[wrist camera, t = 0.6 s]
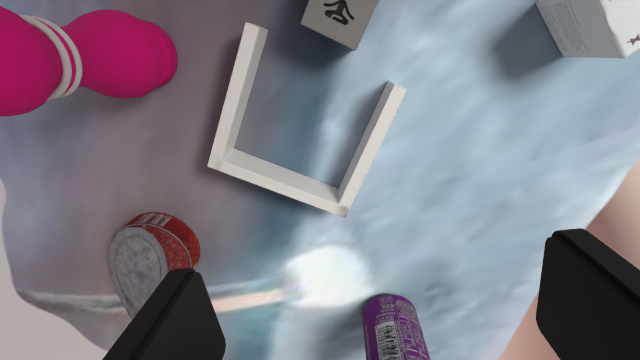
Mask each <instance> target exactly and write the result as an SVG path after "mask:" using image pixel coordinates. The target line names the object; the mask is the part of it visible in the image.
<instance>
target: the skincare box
mask: <svg viewBox="0 0 640 360" xmlns="http://www.w3.org/2000/svg"><path fill="white" fill-rule="evenodd" d="M536 5H537V7H538V9H539V11H540V13H541V15H542V17H543V19H544V21H545V23H546V25H547V27H548V29H549V31H550V33H551V35H552V36H553V38H554V40H555V42H556V44H557V46H558V48H559V50H560V52H561V53H562V55H563V56H564V57H601V58H626V57H628V56H629V55H631V54H632V53H634V52H635V51H637V50H638V49H640V0H539V1H537V2H536Z"/></svg>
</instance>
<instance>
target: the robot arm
mask: <svg viewBox="0 0 640 360" xmlns="http://www.w3.org/2000/svg"><path fill="white" fill-rule="evenodd" d="M536 321H537V325H538V327H539V329H540V331H541V333H542V334H543V335H544V337H545V338H546V340H547V341H548V343H549V344H550V345H551V347H552V348H553V350H554V351H555V353H556V354H557V355H558V357H559V358H560V360H640V270H639V269H637V268H636V267H634V266H633V265H632V264H631V263H629V262H628V261H627V260H625V259H624V258H622V257H621V256H620V255H619V254H617V253H616V252H615V251H613V250H612V249H610V248H609V247H608V246H606V245H605V244H604V243H602V242H601V241H600V240H598V239H597V238H596V237H594V236H593V235H592V234H590V233H589V232H588V231H586V230H584V229H580V228H579V229H569V230H560V231H555V232H554V233H553V234H552V237H549V238H547V240H546V243H545V250H544V258H543V266H542V273H541V281H540V289H539V296H538V305H537V312H536ZM225 347H226V343H225V338H224V335H223V333H222V330H221V327H220V325H219V322H218V319H217V317H216V314H215V311H214V308H213V306H212V303H211V300H210V298H209V295H208V292H207V290H206V287H205V284H204V282H203V279H202V276H201V274H200V273H198V272H195V270H194V269H193V268H182V269H173V270H170V271H169V272H168V273H167V274H166V276H165V277H164V278H163V280H162V281H161V282H160V284H159V285H158V286H157V288H156V289H155V290H154V292H153V293H152V294H151V296H150V297H149V298H148V300H147V301H146V302H145V304H144V305H143V306H142V308H141V309H140V310H139V312H138V313H137V314H136V316H135V317H134V318H133V320H132V321H131V322H130V324H129V325H128V326H127V328H126V329H125V330H124V332H123V333H122V334H121V336H120V337H119V338H118V340H117V341H116V342H115V344H114V345H113V346H112V348H111V349H110V350H109V352H108V353H107V354H106V356H105V357H104V358H103V360H222V358H223V356H224V353H225Z"/></svg>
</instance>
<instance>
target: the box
mask: <svg viewBox="0 0 640 360" xmlns="http://www.w3.org/2000/svg"><path fill="white" fill-rule="evenodd" d="M268 31H269V30H267V29H265V28H263V27H260V26H258V25H255V24H251V23H248V22H246V23H245V27H244V31H243V35H242V38H241V42H240V46H239V50H238V53H237V57H236V61H235V65H234V68H233V72H232V76H231V80H230V83H229V87H228V91H227V95H226V98H225V102H224V106H223V110H222V113H221V117H220V121H219V125H218V128H217V132H216V136H215V140H214V143H213V147H212V151H211V155H210V158H209V162H208V166H207V167H210V168H213V169H215V170H218V171H221V172H223V173H226V174H229V175H232V176H234V177H237V178H240V179H242V180H245V181H248V182H250V183H253V184H256V185H258V186H261V187H264V188H266V189H269V190H272V191H275V192H277V193H280V194H283V195H285V196H288V197H291V198H293V199H296V200H299V201H301V202H304V203H307V204H310V205H312V206H315V207H318V208H320V209H323V210H326V211H328V212H331V213H334V214H336V215H339V216H342V217H344V218H345V216H346V214H347V212H348V210H349V208H350V206H351V204H352V202H353V200H354V198H355V196H356V194H357V192H358V190H359V188H360V186H361V183H362V181H363V179H364V177H365V175H366V173H367V171H368V169H369V167H370V165H371V163H372V161H373V159H374V157H375V155H376V153H377V150H378V148H379V146H380V144H381V142H382V140H383V138H384V136H385V134H386V132H387V130H388V128H389V126H390V124H391V122H392V120H393V118H394V115H395V113H396V111H397V109H398V107H399V105H400V103H401V101H402V99H403V97H404V95H405V93H406V91H407V90H406V89H404V88H403V87H401V86H399V85H397V84H395V83H393V82H390V81H388V82H387V84H386V86H385V88H384V90H383V92H382V95H381V97H380V99H379V101H378V103H377V106H376V108H375V110H374V112H373V114H372V117H371V119H370V121H369V123H368V125H367V127H366V130H365V132H364V134H363V136H362V138H361V141H360V143H359V145H358V147H357V149H356V152H355V154H354V156H353V158H352V160H351V162H350V165H349V167H348V169H347V171H346V173H345V176H344V178H343V180H342V182H341V184H340V187H339V189H338V188H336V187H333V186H331V185H328V184H325V183H323V182H320V181H317V180H315V179H312V178H310V177H307V176H304V175H302V174H299V173H296V172H294V171H291V170H289V169H286V168H283V167H281V166H278V165H275V164H273V163H270V162H268V161H265V160H262V159H260V158H257V157H254V156H252V155H249V154H247V153H244V152H241V151H239V150H236V149H234V146H235V143H236V139H237V136H238V133H239V129H240V126H241V122H242V119H243V116H244V112H245V109H246V106H247V102H248V99H249V95H250V92H251V89H252V85H253V82H254V78H255V75H256V72H257V68H258V65H259V62H260V58H261V55H262V51H263V48H264V45H265V41H266V38H267V34H268Z"/></svg>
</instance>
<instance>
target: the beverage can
mask: <svg viewBox="0 0 640 360" xmlns="http://www.w3.org/2000/svg"><path fill="white" fill-rule="evenodd" d="M362 318H363V329H364V339H365V350H366V360H430V357H429V354H428V350H427V347H426V343H425V340H424V337H423V333H422V330H421V327H420V323H419V320H418V317H417V313H416V310H415V307H414V306H413V304H412V303H411V302H410V301H409V300H407V299H406V298H404V297H401V296H398V295H382V296H378V297H376V298H374V299H372V300H371V301H370V302H368V303H367V305H366V306H365V308H364V310H363V313H362Z"/></svg>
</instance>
